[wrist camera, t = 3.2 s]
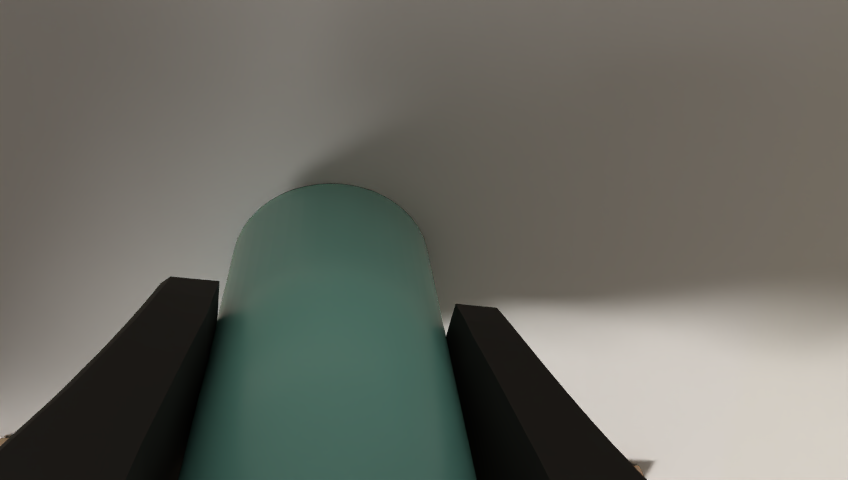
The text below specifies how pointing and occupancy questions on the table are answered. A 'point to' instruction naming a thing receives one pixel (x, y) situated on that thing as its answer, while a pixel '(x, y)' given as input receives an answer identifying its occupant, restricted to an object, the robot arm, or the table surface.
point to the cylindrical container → (329, 351)
